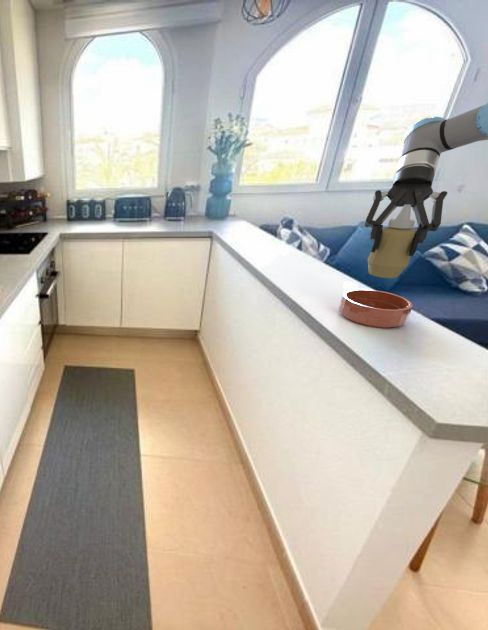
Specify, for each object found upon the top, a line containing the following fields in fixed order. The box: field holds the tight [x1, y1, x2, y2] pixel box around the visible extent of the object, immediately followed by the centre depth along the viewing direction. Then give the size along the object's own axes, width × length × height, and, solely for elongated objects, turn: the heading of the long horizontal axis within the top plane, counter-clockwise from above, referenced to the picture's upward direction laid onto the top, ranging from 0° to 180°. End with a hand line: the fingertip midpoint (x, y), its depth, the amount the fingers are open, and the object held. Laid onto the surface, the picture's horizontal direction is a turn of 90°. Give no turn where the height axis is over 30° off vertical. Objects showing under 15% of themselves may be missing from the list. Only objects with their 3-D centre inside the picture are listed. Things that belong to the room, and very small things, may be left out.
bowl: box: [338, 288, 414, 329], centre depth 94 cm, size 14×14×6 cm
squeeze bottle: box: [367, 205, 416, 279], centre depth 87 cm, size 8×8×18 cm
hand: (392, 251), depth 85 cm, fingers closed on squeeze bottle, 6 cm apart
